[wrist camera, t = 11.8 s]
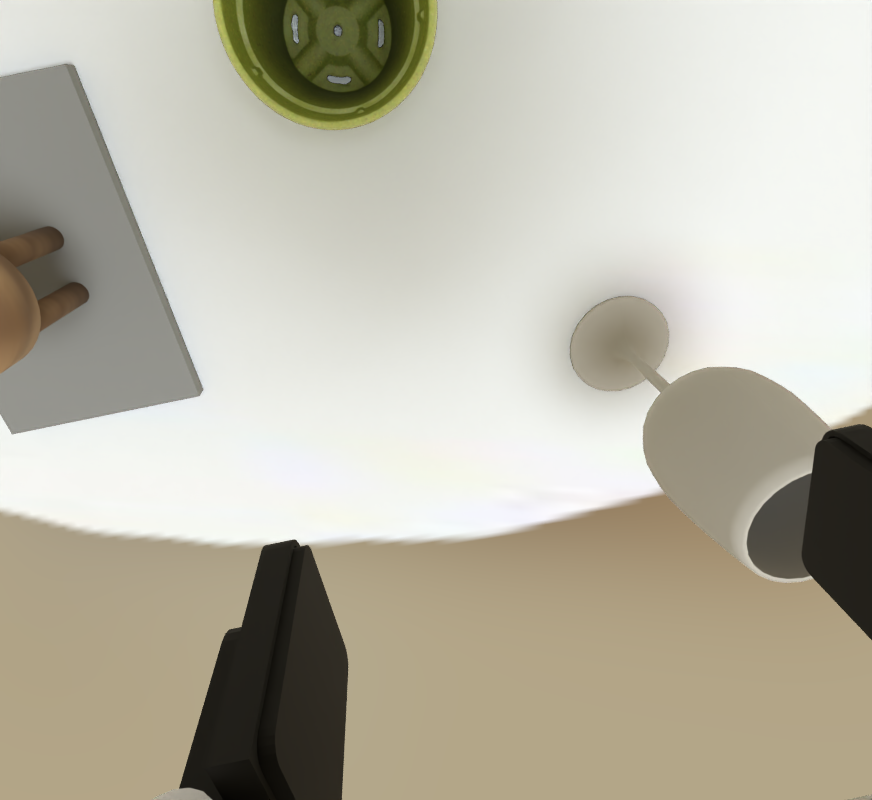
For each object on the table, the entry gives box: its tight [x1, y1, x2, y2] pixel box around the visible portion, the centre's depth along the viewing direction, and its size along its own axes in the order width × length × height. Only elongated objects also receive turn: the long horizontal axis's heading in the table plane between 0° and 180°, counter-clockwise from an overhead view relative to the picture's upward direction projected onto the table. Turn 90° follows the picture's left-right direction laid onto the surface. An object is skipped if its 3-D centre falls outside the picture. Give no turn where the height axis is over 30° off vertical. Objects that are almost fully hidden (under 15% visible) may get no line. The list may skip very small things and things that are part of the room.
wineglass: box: [570, 296, 832, 583], centre depth 33 cm, size 8×8×21 cm
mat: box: [0, 64, 203, 434], centre depth 36 cm, size 20×13×1 cm, turn 10°
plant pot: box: [213, 0, 437, 130], centre depth 29 cm, size 9×9×9 cm
